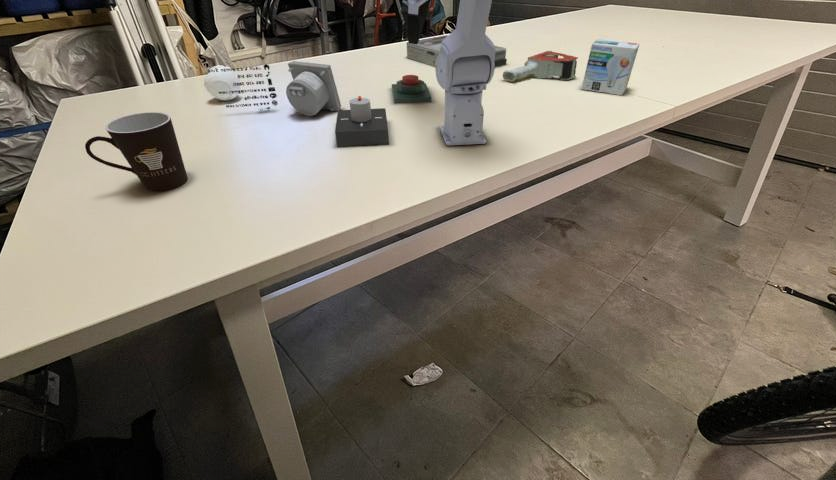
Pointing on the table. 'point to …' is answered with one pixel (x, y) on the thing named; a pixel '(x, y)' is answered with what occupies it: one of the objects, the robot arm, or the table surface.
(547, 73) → the tape dispenser
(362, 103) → the knob
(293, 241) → the table surface
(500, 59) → the hard drive
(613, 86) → the light bulb box
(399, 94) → the button block
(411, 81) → the button
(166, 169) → the coffee mug
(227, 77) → the motion sensor
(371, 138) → the dial panel
